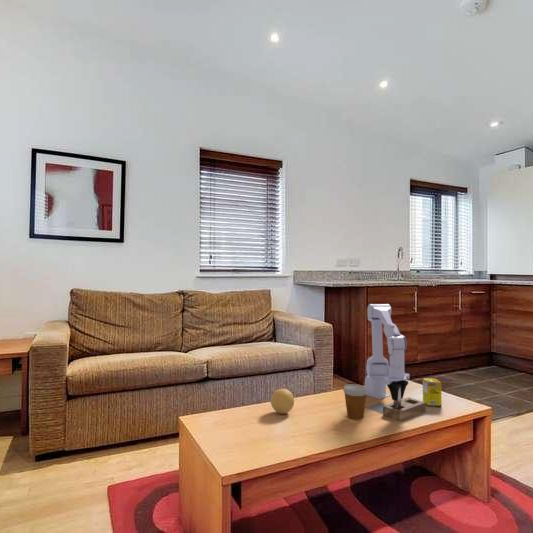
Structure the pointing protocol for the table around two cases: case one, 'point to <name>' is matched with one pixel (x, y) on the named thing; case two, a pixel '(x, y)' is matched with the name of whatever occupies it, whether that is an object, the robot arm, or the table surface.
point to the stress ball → (282, 401)
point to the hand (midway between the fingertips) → (397, 399)
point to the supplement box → (432, 392)
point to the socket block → (404, 409)
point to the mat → (376, 407)
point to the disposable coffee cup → (355, 400)
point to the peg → (398, 403)
